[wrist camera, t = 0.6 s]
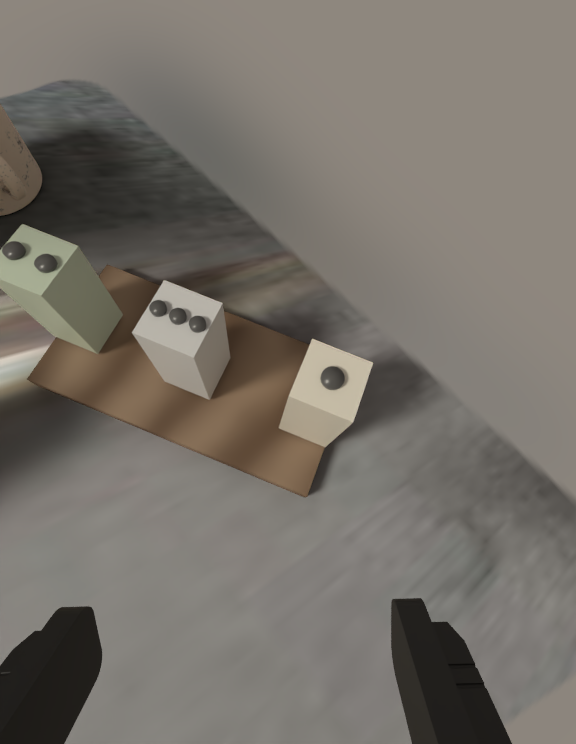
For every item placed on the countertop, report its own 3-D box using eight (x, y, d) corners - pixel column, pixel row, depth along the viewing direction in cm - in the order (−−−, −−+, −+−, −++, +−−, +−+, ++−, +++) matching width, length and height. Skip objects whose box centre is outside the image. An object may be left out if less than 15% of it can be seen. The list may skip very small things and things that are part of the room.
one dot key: (278, 428, 30) (289, 394, 22) (296, 384, 32) (313, 336, 23) (325, 447, 30) (354, 421, 22) (341, 402, 32) (374, 360, 23)
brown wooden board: (36, 385, 32) (26, 379, 30) (112, 274, 36) (107, 264, 35) (304, 497, 30) (307, 496, 29) (350, 368, 35) (354, 362, 33)
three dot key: (164, 381, 31) (130, 330, 22) (187, 340, 32) (163, 277, 24) (209, 400, 31) (192, 355, 22) (230, 357, 32) (222, 300, 23)
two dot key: (54, 336, 31) (-22, 268, 23) (81, 297, 33) (19, 220, 24) (97, 354, 31) (38, 293, 23) (123, 314, 33) (76, 242, 24)
